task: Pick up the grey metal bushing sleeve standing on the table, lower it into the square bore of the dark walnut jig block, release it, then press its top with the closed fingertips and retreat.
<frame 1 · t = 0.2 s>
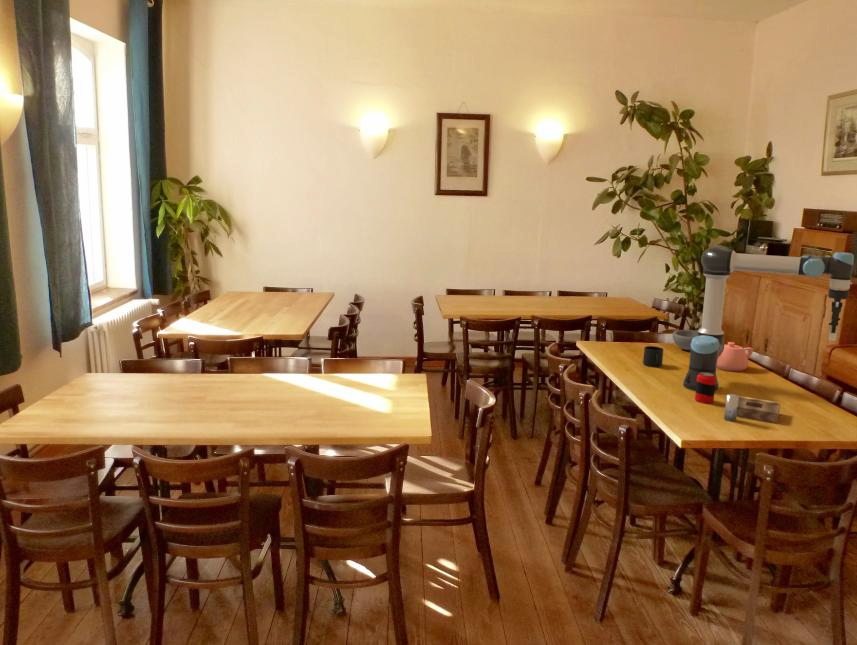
hand: (832, 337, 285), 28 cm above the table, fingers open, 13 cm apart
jig: (753, 414, 269), on the table
bowl: (692, 350, 380), on the table
soda can: (703, 401, 285), on the table
bushing: (729, 419, 262), on the table
mug: (653, 366, 343), on the table
teapot: (726, 368, 342), on the table
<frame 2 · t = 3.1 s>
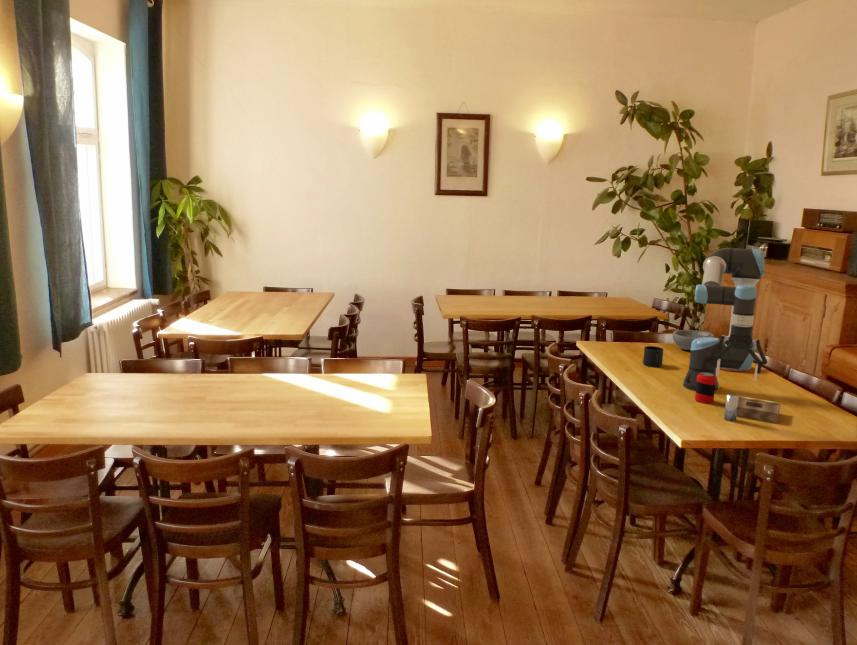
hand: (736, 378, 258), 17 cm above the table, fingers open, 13 cm apart
nothing on the table moved.
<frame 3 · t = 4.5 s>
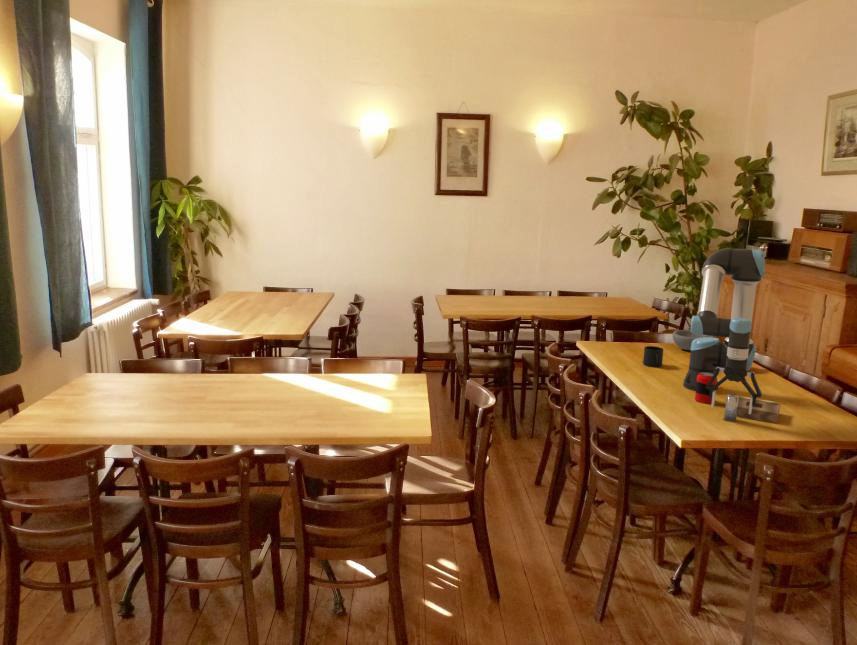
hand: (731, 410, 261), 4 cm above the table, fingers open, 13 cm apart
nothing on the table moved.
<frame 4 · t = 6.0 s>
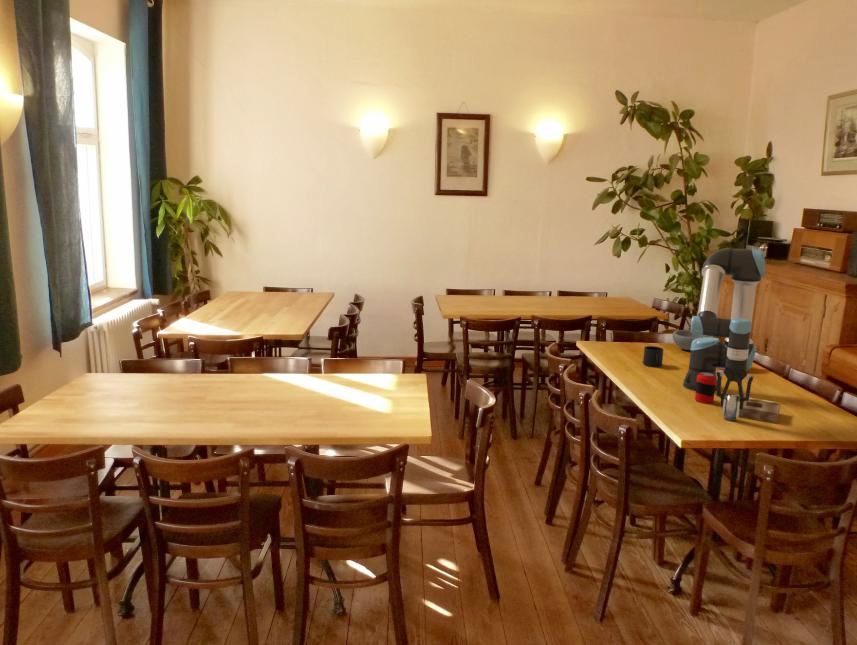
hand: (730, 415, 261), 2 cm above the table, fingers closed on bushing, 4 cm apart
bushing: (730, 419, 262), on the table, touching gripper
everything else where it was.
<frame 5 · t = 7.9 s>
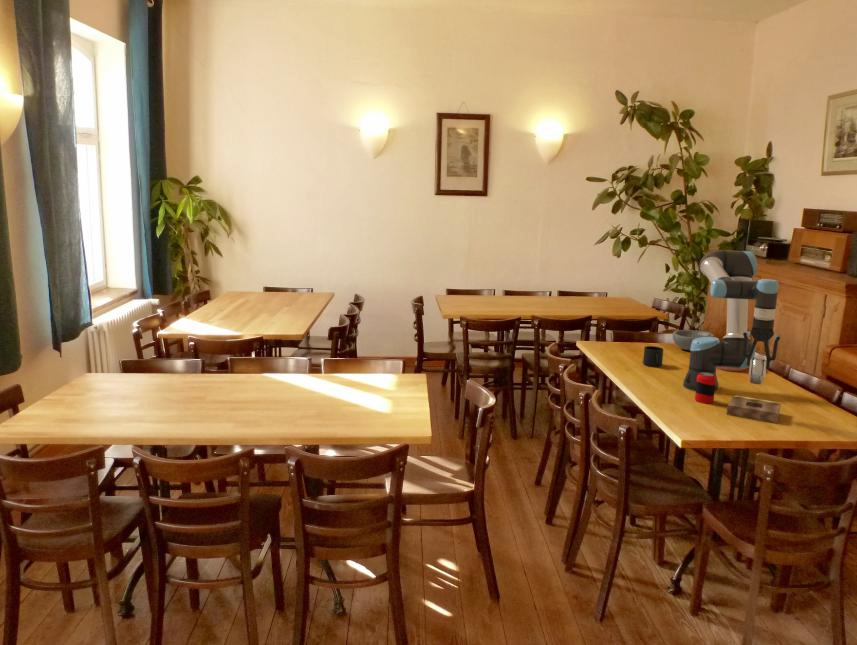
hand: (756, 375, 265), 17 cm above the table, fingers closed on bushing, 4 cm apart
bushing: (755, 382, 266), point 13 cm above the table, touching gripper
everything else where it was.
when the fingers open (5 cm above the table, at t = 9.9 s): bushing drops 2 cm, resting in jig.
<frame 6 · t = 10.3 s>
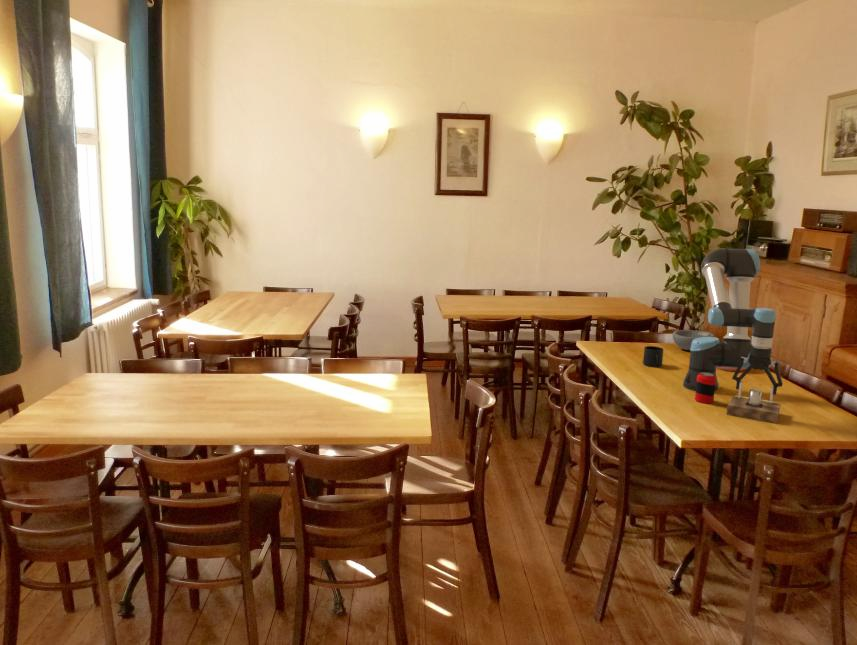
hand: (754, 399, 268), 6 cm above the table, fingers open, 11 cm apart
bushing: (753, 414, 269), resting in jig
everything else where it was.
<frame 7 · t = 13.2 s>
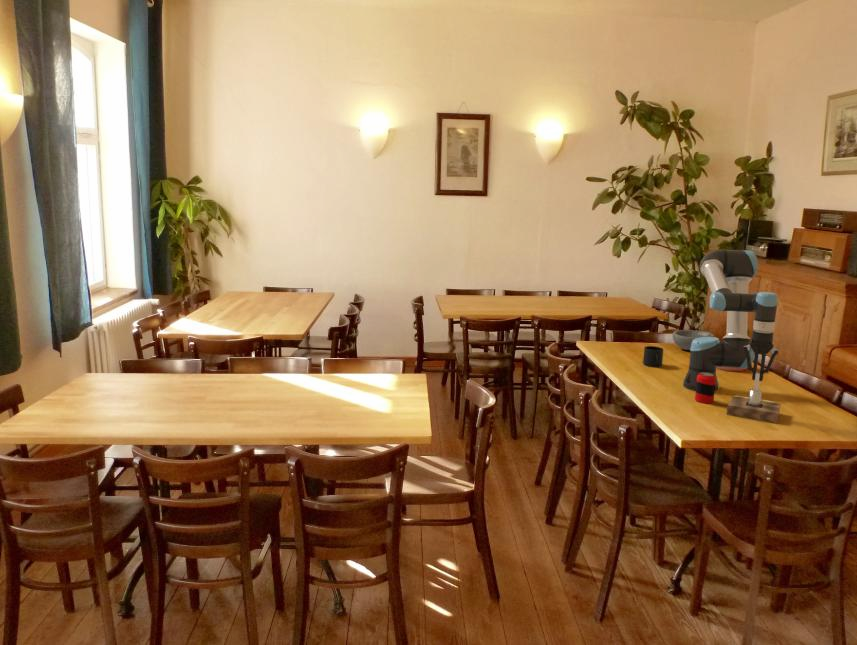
hand: (756, 388, 267), 11 cm above the table, fingers closed
nothing on the table moved.
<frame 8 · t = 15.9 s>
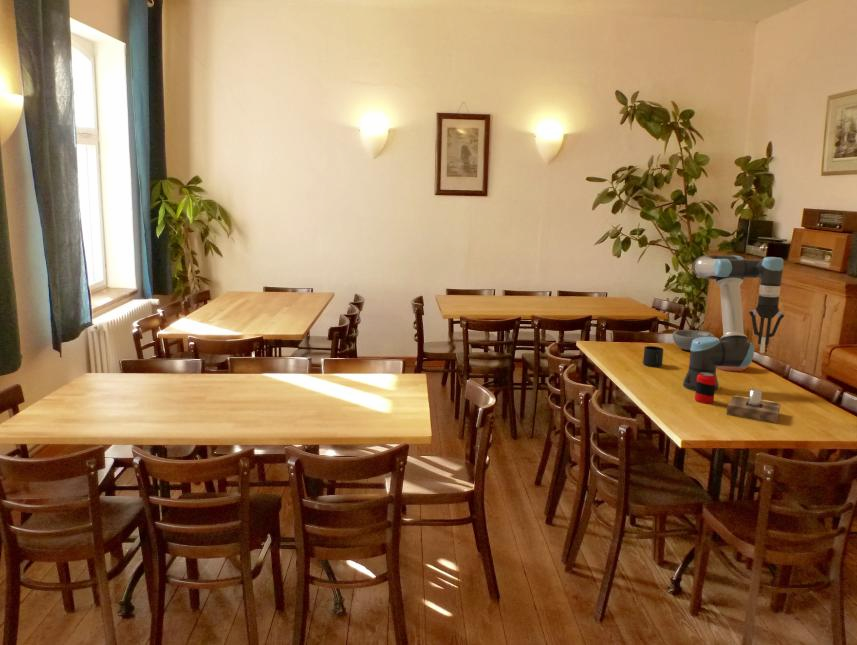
hand: (762, 352, 271), 24 cm above the table, fingers closed
nothing on the table moved.
at the end: bushing 0.1 cm off-centre on the jig, point 0.0 cm above the jig's base; bushing tilted 0°; the gripper is holding nothing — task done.
